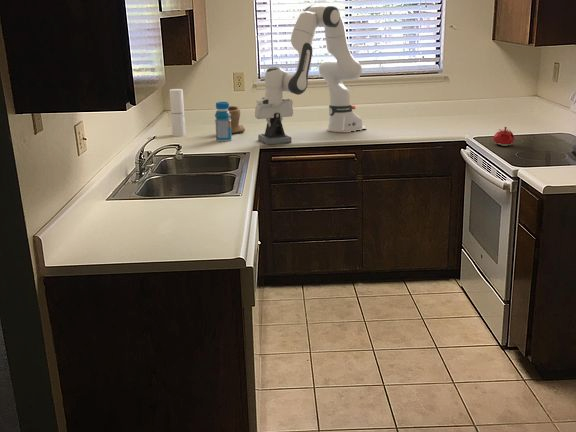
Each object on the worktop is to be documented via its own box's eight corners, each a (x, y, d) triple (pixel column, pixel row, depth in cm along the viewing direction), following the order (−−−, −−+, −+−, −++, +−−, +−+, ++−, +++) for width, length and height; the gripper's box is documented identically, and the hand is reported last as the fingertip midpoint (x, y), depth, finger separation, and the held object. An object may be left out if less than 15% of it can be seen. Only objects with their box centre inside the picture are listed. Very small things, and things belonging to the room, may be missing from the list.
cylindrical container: (170, 135, 354) (166, 89, 346) (180, 133, 359) (177, 88, 351) (178, 137, 350) (174, 90, 342) (188, 135, 355) (185, 89, 347)
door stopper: (271, 137, 329) (271, 113, 325) (264, 135, 333) (263, 112, 329) (284, 134, 334) (284, 111, 331) (277, 133, 339) (277, 110, 335)
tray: (281, 137, 343) (280, 132, 342) (291, 142, 331) (291, 136, 330) (258, 140, 338) (258, 134, 338) (268, 145, 326) (267, 139, 325)
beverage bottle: (220, 142, 334) (218, 104, 328) (213, 139, 341) (211, 102, 334) (234, 140, 338) (233, 102, 332) (227, 138, 345) (225, 100, 339)
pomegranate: (488, 145, 320) (489, 126, 318) (504, 143, 324) (506, 124, 321) (502, 148, 312) (503, 129, 309) (518, 146, 315) (519, 127, 312)
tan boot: (226, 136, 350) (224, 108, 345) (216, 133, 359) (215, 106, 355) (250, 133, 357) (249, 106, 353) (240, 130, 367) (239, 103, 362)
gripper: (290, 97, 335) (290, 123, 339) (253, 100, 327) (254, 127, 331) (294, 99, 329) (295, 125, 333) (257, 101, 321) (258, 129, 326)
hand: (274, 126), depth 332 cm, fingers closed on door stopper, 3 cm apart
